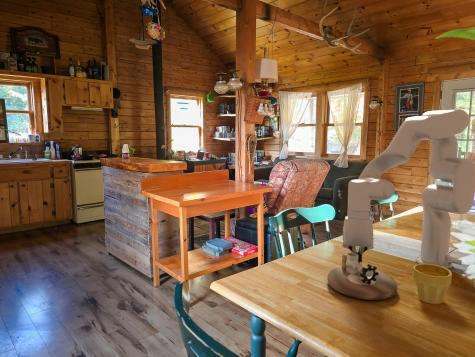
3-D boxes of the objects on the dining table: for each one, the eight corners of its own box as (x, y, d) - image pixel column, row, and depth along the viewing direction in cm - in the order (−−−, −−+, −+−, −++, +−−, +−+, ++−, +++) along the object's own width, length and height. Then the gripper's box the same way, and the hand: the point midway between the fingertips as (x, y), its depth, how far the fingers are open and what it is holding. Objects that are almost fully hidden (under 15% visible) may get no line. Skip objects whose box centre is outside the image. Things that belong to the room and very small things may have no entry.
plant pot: (407, 299, 104) (409, 270, 103) (416, 288, 112) (418, 260, 110) (445, 311, 97) (448, 279, 96) (452, 298, 105) (455, 269, 103)
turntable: (369, 267, 126) (370, 251, 125) (412, 295, 105) (414, 275, 104) (316, 273, 121) (316, 256, 120) (350, 303, 100) (351, 282, 99)
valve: (340, 271, 119) (360, 285, 108) (340, 253, 118) (361, 266, 107) (356, 269, 121) (378, 283, 109) (357, 251, 120) (379, 264, 108)
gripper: (378, 212, 121) (376, 261, 123) (335, 211, 124) (334, 258, 126) (383, 217, 113) (381, 269, 116) (337, 216, 116) (336, 266, 119)
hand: (357, 263), depth 121 cm, fingers closed
